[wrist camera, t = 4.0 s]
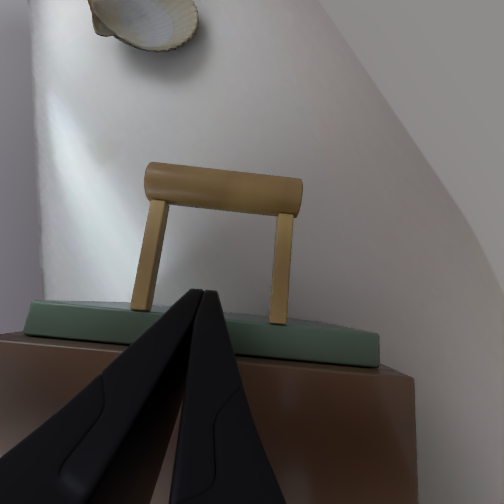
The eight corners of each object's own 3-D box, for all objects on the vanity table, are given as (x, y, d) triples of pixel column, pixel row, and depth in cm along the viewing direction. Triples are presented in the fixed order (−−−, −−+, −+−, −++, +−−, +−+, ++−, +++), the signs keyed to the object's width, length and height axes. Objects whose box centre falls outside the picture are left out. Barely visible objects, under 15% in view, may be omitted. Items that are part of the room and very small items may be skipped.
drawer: (140, 216, 17) (59, 143, 10) (322, 235, 18) (388, 180, 10) (71, 564, 13) (-169, 935, 5) (308, 580, 14) (401, 952, 6)
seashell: (204, 78, 23) (189, -13, 23) (206, 53, 20) (190, -52, 20) (104, 76, 21) (87, -24, 21) (91, 48, 18) (70, -69, 18)
